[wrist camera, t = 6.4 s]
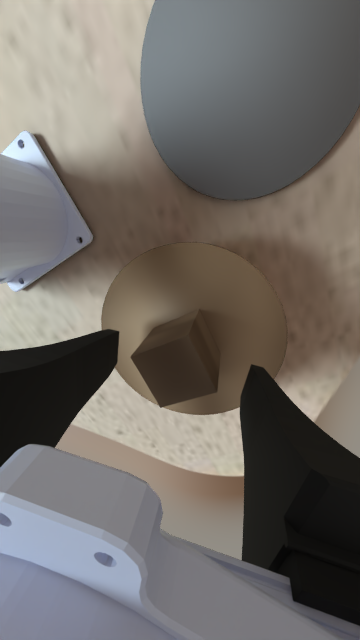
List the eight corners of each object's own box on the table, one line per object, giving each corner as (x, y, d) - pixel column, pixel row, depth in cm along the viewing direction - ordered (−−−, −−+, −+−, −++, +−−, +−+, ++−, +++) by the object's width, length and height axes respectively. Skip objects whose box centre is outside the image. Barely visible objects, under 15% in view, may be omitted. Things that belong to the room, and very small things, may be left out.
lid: (156, 420, 17) (134, 475, 13) (77, 291, 15) (21, 312, 11) (310, 382, 14) (341, 442, 10) (240, 201, 11) (245, 185, 7)
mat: (199, 235, 16) (198, 236, 15) (105, 40, 13) (101, 35, 13) (406, 117, 12) (411, 114, 11) (331, -201, 9) (335, -219, 9)
